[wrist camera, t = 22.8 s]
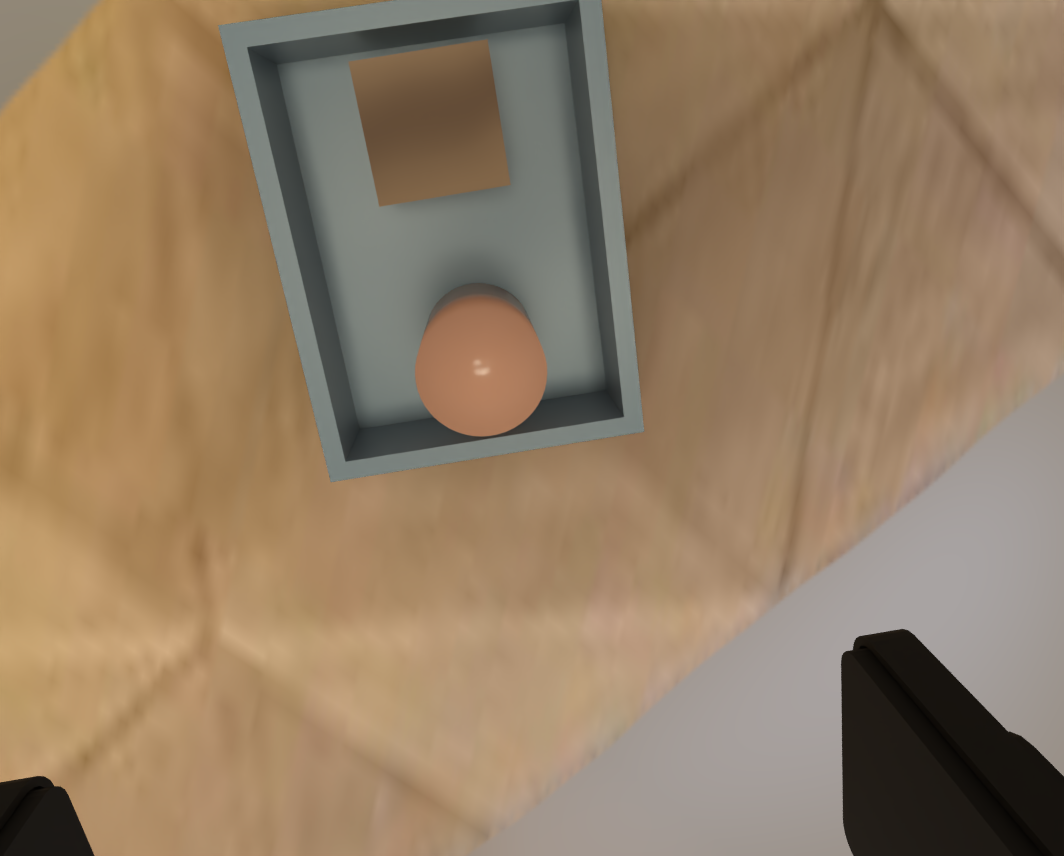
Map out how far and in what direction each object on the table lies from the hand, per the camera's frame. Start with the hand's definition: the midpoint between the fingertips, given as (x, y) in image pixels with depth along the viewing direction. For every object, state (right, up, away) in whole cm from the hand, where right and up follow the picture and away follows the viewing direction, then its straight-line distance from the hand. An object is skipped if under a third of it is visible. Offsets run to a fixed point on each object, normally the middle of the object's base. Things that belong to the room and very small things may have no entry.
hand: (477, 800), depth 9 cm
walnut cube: (-3, +17, +23) cm, 29 cm away
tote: (-3, +13, +25) cm, 29 cm away
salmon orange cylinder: (-2, +9, +26) cm, 28 cm away
